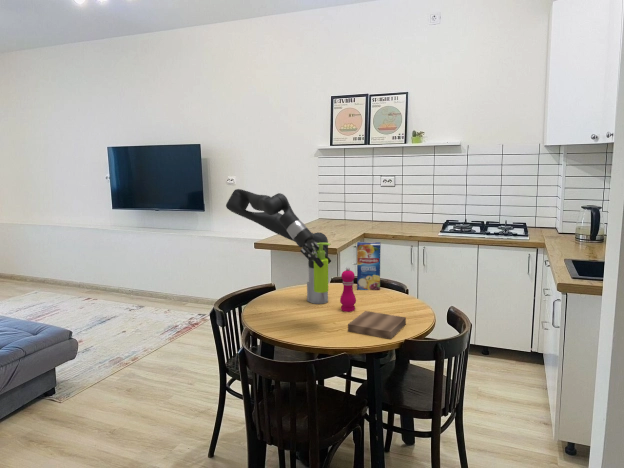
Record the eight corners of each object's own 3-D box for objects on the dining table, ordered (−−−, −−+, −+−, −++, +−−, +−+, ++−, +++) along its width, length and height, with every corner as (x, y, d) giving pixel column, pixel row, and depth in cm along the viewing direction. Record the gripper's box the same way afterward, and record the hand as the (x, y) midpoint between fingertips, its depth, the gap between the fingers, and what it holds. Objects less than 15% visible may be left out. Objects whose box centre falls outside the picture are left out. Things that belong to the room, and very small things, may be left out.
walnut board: (347, 331, 187) (347, 324, 186) (365, 317, 202) (365, 310, 202) (390, 339, 178) (391, 331, 178) (405, 324, 194) (405, 317, 193)
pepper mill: (358, 308, 214) (358, 266, 211) (352, 313, 208) (352, 269, 205) (343, 306, 217) (343, 264, 214) (337, 311, 211) (337, 268, 208)
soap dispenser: (329, 293, 188) (329, 244, 184) (312, 292, 189) (312, 243, 186) (331, 289, 193) (331, 241, 190) (315, 288, 195) (315, 241, 191)
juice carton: (356, 289, 244) (357, 244, 240) (357, 285, 251) (357, 242, 247) (380, 290, 243) (380, 245, 239) (379, 286, 250) (380, 242, 246)
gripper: (303, 236, 200) (328, 266, 196) (285, 242, 188) (311, 274, 184) (314, 224, 196) (339, 255, 193) (296, 230, 184) (323, 262, 180)
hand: (325, 264), depth 188 cm, fingers closed on soap dispenser, 6 cm apart
